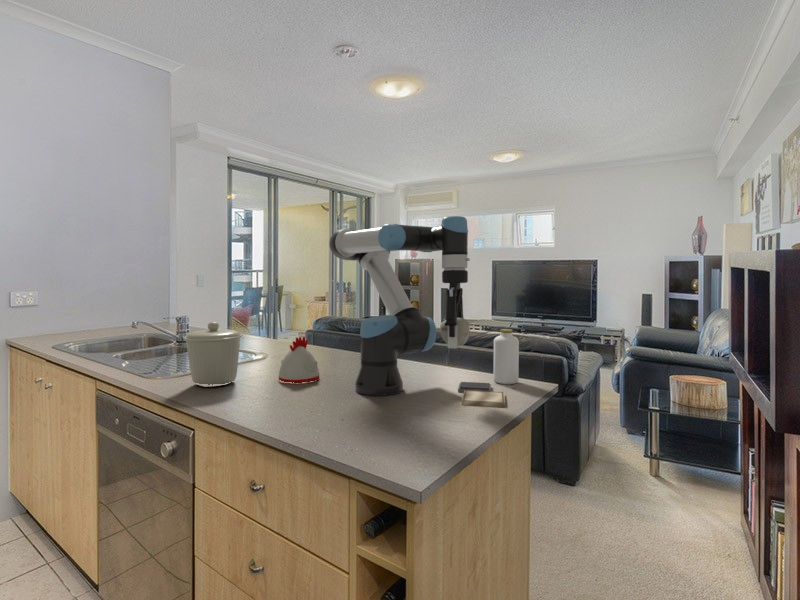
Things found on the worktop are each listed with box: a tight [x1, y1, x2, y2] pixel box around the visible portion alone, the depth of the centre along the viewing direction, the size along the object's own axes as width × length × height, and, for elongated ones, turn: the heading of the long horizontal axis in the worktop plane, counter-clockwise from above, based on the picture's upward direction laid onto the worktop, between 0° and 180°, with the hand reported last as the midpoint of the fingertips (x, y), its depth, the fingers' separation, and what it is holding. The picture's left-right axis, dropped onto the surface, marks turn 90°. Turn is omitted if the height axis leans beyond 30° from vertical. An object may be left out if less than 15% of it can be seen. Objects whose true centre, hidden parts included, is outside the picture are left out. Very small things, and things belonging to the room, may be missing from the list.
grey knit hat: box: [278, 336, 320, 383], centre depth 157 cm, size 14×14×15 cm
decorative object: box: [439, 317, 471, 347], centre depth 133 cm, size 9×9×10 cm
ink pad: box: [457, 381, 492, 393], centre depth 143 cm, size 10×8×2 cm
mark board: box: [461, 390, 506, 408], centre depth 132 cm, size 12×12×1 cm
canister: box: [183, 321, 243, 385], centre depth 150 cm, size 18×18×21 cm
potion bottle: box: [492, 328, 520, 385], centre depth 152 cm, size 8×8×18 cm
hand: (455, 345), depth 133 cm, fingers closed on decorative object, 9 cm apart
